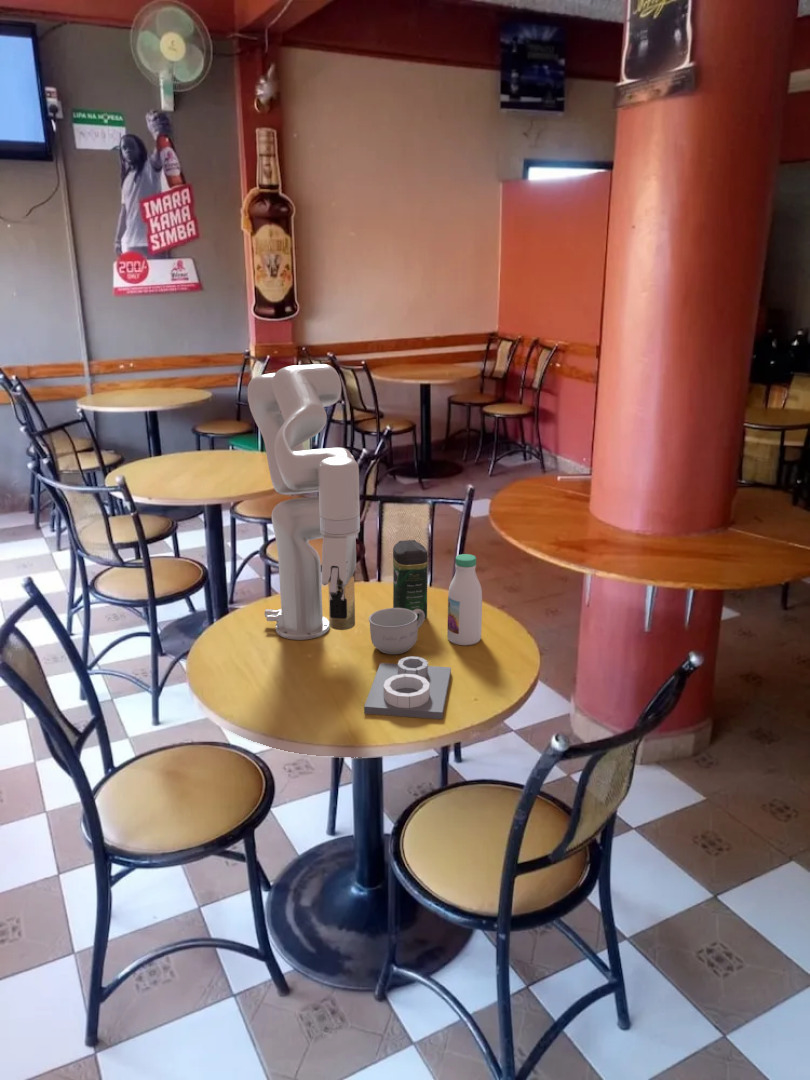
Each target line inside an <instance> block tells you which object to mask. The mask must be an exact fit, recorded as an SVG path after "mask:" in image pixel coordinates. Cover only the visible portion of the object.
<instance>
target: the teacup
mask: <svg viewBox="0 0 810 1080" xmlns="http://www.w3.org/2000/svg"><path fill="white" fill-rule="evenodd" d="M418 613H419V619H418V621H417V614H418ZM425 620H426V619H425V614H424V612H423V611H422V610H421V609H415V610H413V611H411V610H409V609H404V608H393V607H390V608H383V609H382V608H381V609H379V610H376V611H374V612H373V613H371V614H370V615H369V616H368V621H369V631H370V640H371V642H372V644H373V647H375V649H377V650H379V651H380V652H382V653H383V654H386V655H399V654H404V653H407V652H408V651H409V650H410V649H411V648H412V647H413V646H414V645H416V643H417V642H418V641H417V640H418V629H419V628H421V626H422V625H423V624H424V621H425Z"/></svg>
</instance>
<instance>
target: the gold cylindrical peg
mask: <svg viewBox="0 0 810 1080" xmlns="http://www.w3.org/2000/svg"><path fill="white" fill-rule="evenodd" d="M342 583H343V581H338V584H342ZM327 585H328V586H327V587H328V588H327V589H328V590H329V589H330V581H329V582H328V584H327ZM341 588H342V587H338V590H340V591H341ZM345 599H347V618H346V619H340V618H331V617H330V593H329V592H328V610H329V611H328V616H329V620H328V621H329V624H330V627H329V628H331V629H333V630H337V631H346V630H347V631H348V630H351V629H352V628H354V627H355V626H356V605H355V603H356V600H355V575H354V574H353V575H352V577H351V579H350V581H349V583H348V584H347V585H346V586H345Z"/></svg>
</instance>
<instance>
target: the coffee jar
mask: <svg viewBox="0 0 810 1080" xmlns="http://www.w3.org/2000/svg"><path fill="white" fill-rule="evenodd" d="M428 557H429V556H428V550H427V548H426V547H425V546H424V545H423V543H422V544H421V543H420V542H418V541H416V540H415V539H408V540H407V539H405V540H399V541H398V542H397V543H395V545H393V548H392V564H393V567H392V569H393V571H392V572H393V578H392V579H393V582H392V583H393V585H392V586H393V591H392V593H393V595H392V596H393V597H392V600H393V601H392V604H393V606H392V608H404V609H409V610H411V611H413V610H415V609H421V610H422V611H423V612H424V614H425V619H424V620H426V618H427V617H428V563H429V561H428ZM418 619H419V613H418V614H417V621H418Z"/></svg>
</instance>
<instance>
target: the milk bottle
mask: <svg viewBox="0 0 810 1080" xmlns="http://www.w3.org/2000/svg"><path fill="white" fill-rule="evenodd" d="M455 568H456V571H455V574H454V576H453V578H452V580H451V582H450V584H449V588H448V594H447V595H448V597H447V629H446V630H447V640H448V641H450V642H451V643H452V644H454V645H459V646H471V645H472V646H473V645H475V644H478V643H479V642H480V641H481V639H482V624H483V623H482V621H483V619H482V618H483V614H482V613H483V592H482V591H483V590H482V586H481V583H480V581H479V578H478V576H477V573H476V568H477V557H476V555H474V554H470V553H469V554H468V553H462V554H458V555H456V556H455Z"/></svg>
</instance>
